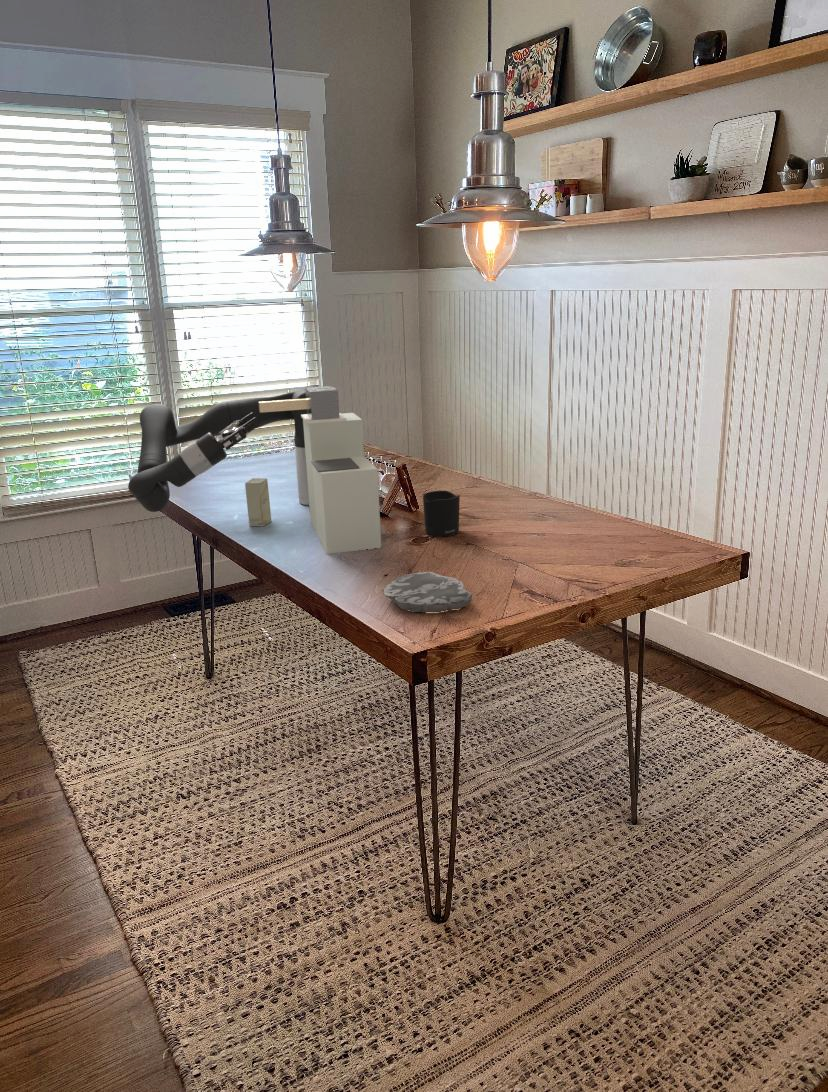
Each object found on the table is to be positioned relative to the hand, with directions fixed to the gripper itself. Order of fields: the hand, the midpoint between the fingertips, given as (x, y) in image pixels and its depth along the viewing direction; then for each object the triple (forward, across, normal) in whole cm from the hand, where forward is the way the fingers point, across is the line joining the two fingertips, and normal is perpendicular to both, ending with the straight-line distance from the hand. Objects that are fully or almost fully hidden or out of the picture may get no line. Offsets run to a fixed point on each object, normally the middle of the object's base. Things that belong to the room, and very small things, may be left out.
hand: (256, 418), depth 215 cm
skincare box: (-16, +12, +26) cm, 33 cm away
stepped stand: (+1, -8, +36) cm, 37 cm away
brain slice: (+7, -60, +40) cm, 73 cm away
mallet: (+9, 0, +6) cm, 11 cm away
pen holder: (+22, -15, +49) cm, 56 cm away
